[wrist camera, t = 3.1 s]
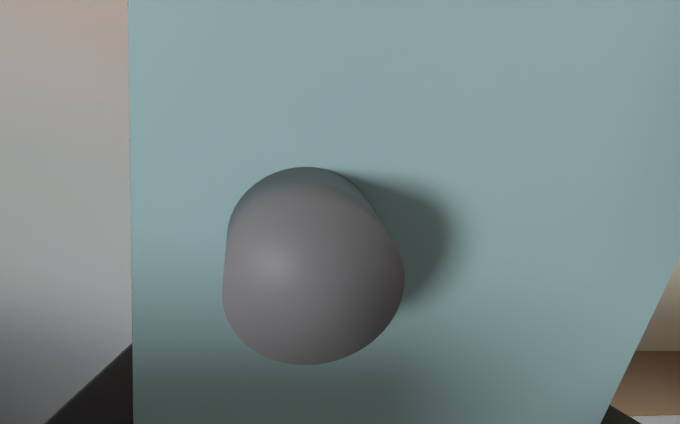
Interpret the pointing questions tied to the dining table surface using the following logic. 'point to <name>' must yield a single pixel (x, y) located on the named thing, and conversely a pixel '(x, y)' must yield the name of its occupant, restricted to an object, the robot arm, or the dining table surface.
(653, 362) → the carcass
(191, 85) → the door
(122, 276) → the dining table surface
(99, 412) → the robot arm
